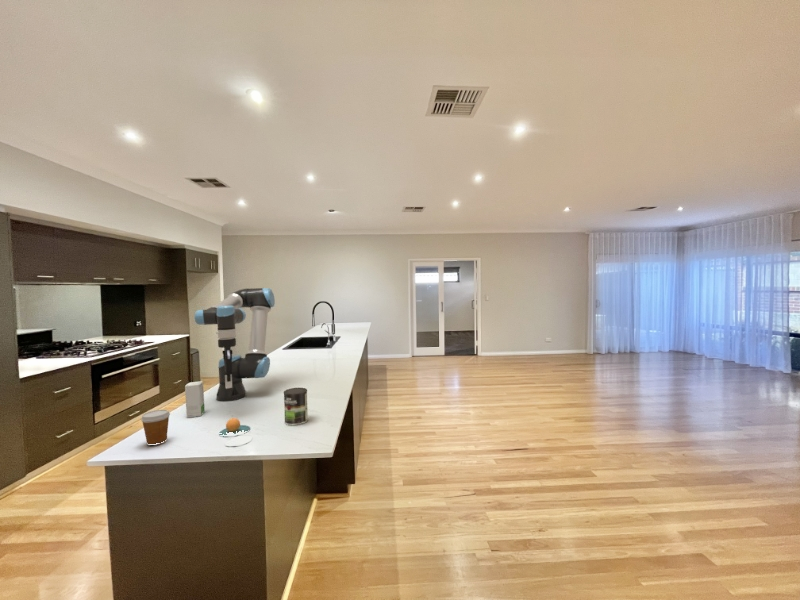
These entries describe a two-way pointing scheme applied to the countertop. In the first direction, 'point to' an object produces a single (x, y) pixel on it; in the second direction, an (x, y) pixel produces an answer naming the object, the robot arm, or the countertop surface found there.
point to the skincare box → (194, 399)
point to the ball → (233, 425)
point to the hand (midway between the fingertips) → (228, 387)
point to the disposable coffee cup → (155, 426)
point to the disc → (242, 427)
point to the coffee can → (295, 406)
